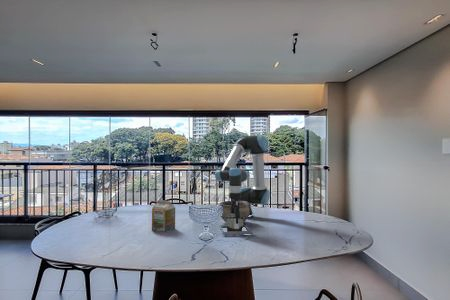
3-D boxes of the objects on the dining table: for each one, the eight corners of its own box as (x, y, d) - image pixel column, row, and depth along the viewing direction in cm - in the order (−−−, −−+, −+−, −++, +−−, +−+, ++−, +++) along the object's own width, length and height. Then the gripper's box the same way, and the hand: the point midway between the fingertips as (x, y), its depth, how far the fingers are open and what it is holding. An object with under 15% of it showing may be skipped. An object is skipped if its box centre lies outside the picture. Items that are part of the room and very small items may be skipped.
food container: (244, 230, 188) (244, 214, 189) (244, 232, 182) (244, 216, 182) (225, 229, 189) (225, 214, 189) (224, 232, 183) (224, 216, 183)
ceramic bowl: (250, 227, 198) (250, 205, 199) (218, 226, 199) (218, 204, 199) (248, 220, 220) (248, 200, 221) (219, 219, 221) (219, 199, 221)
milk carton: (151, 230, 187) (152, 201, 188) (162, 227, 197) (162, 198, 197) (164, 232, 182) (165, 202, 183) (175, 229, 192) (175, 200, 192)
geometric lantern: (90, 217, 224) (91, 172, 226) (104, 214, 239) (105, 171, 241) (107, 219, 219) (108, 172, 221) (121, 215, 234) (122, 171, 236)
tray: (219, 229, 193) (219, 225, 193) (245, 228, 195) (245, 224, 195) (223, 236, 175) (223, 232, 175) (251, 235, 178) (251, 231, 178)
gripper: (226, 190, 197) (226, 222, 197) (232, 194, 173) (232, 231, 173) (237, 190, 198) (236, 221, 198) (244, 194, 174) (244, 230, 174)
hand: (234, 226), depth 185 cm, fingers open, 12 cm apart
